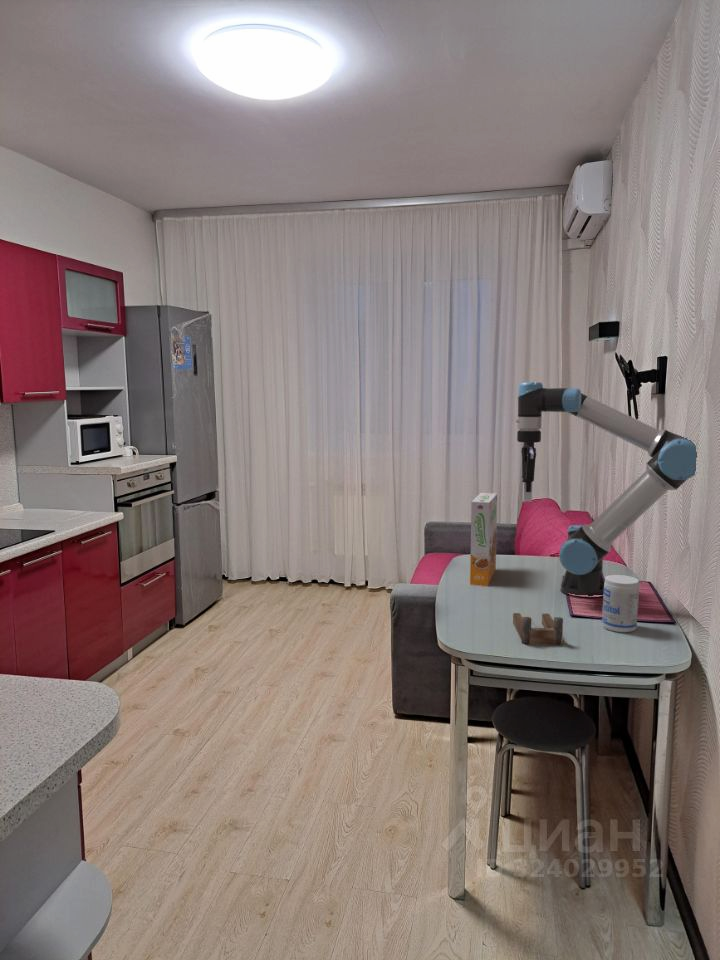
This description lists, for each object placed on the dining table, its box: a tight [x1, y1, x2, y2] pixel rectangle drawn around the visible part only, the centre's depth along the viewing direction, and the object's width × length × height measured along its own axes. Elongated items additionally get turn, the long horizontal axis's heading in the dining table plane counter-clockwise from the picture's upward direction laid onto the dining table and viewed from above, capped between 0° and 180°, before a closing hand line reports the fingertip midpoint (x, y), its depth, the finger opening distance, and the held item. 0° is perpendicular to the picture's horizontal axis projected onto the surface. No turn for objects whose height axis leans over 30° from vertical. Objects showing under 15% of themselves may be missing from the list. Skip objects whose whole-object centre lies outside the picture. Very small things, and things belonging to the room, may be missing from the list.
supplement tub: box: [601, 574, 640, 633], centre depth 202 cm, size 10×10×15 cm
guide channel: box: [512, 612, 564, 646], centre depth 198 cm, size 11×18×7 cm, turn 177°
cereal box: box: [469, 492, 498, 587], centre depth 256 cm, size 22×6×30 cm, turn 162°
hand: (527, 501), depth 230 cm, fingers closed
